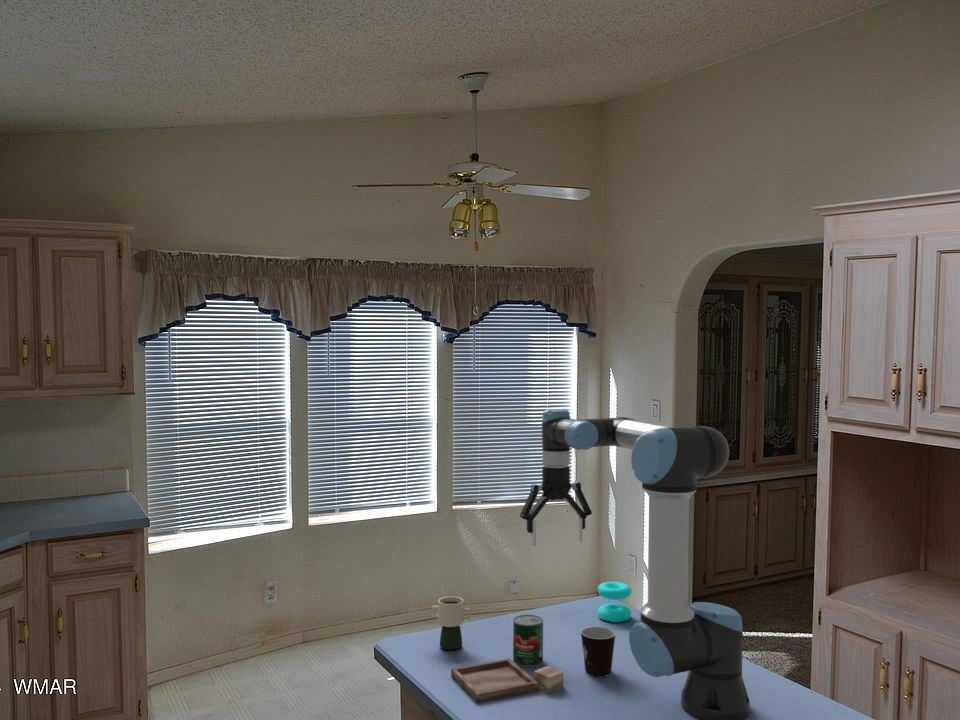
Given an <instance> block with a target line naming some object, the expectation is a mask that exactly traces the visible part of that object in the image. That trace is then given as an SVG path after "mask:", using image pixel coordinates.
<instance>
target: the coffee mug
mask: <svg viewBox="0 0 960 720" xmlns="http://www.w3.org/2000/svg"><path fill="white" fill-rule="evenodd" d="M580 635H581V644H582V653H583V661H584V662H583V663H584V672H585V671H586V672H585V674H587V673H588V674H590V675H593V676H606V675H609V674H610V673H611V672H612V665H613V657H614V649H615V641H616V632H615V631H614V630H613V629H610V628H608V627H603V626H590V627H585V628H583V629H581V630H580ZM588 674H587V675H588ZM590 675H589V676H590ZM610 675H611V674H610ZM610 675H609V676H610ZM593 676H592V677H593ZM606 677H607V676H606Z"/></svg>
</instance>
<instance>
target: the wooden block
mask: <svg viewBox="0 0 960 720" xmlns="http://www.w3.org/2000/svg"><path fill="white" fill-rule="evenodd" d="M533 672H534V673H533V676H534V677H533V679H534V680H535V681H537V682H538V690H541V691H542V692H544V693H547V694H553V693H554V692H557V691H559V690H561V689H563V687H564V684H565V683H564V679H565V678H564V677H565V676H564V674H565V673H564V671H563V670H560V669H558V668H555V667H554V666H550V665H547V666H545V667H544V666H543V667H541V668H538V669H536V670H533ZM558 689H559V690H558ZM556 690H557V691H556Z"/></svg>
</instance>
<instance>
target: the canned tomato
mask: <svg viewBox="0 0 960 720" xmlns="http://www.w3.org/2000/svg"><path fill="white" fill-rule="evenodd" d="M512 629H513V630H512V634H513V635H512V638H513V639H512V647H513V649H512V656H513V657H512V661H513V662H514V663H515V664H516V665H517V666H519V667H523V668H533V667H534V668H535V666H536V667H538V666H541V665H542V664H544V663H543V662H544V618H543V617H541V616H539V615H534V614H521V615H517V616H514V617H513V625H512Z"/></svg>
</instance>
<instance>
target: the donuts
mask: <svg viewBox="0 0 960 720" xmlns="http://www.w3.org/2000/svg"><path fill="white" fill-rule="evenodd" d="M597 592H598V594H599V595H600V596H601V597H602V598H604V599H607V600H611V601H621V600H625V599H627V598H629V597H630V596H631V593H632V588H631V587H630V586H629V585H628V584H626V583H624V582H620V581H606V582H605V581H604V582H602V583H600V584H599V585H598V586H597ZM597 615H598V617H599V618H600V619H601V620H602V621H605V620H606V621H605V622H608V621H610V622H609V623H624V622H627V621H628V620H630V619H631V616H632V612H631V610H630V608H629V607H627V606H626V605H623V604H620V603H615V602H614V603H612V602H611V603H606V604H603V605H601V606H600V607H598V610H597ZM623 621H624V622H623Z"/></svg>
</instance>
